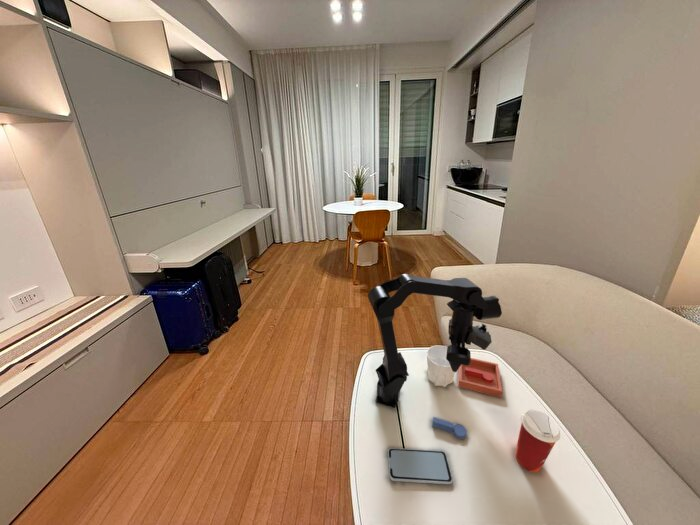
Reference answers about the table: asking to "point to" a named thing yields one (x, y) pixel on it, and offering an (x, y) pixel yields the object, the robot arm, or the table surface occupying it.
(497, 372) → the terracotta tray
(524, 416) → the paper cup
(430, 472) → the smartphone
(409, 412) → the table surface
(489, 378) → the red spoon
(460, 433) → the blue spoon
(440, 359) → the cup
